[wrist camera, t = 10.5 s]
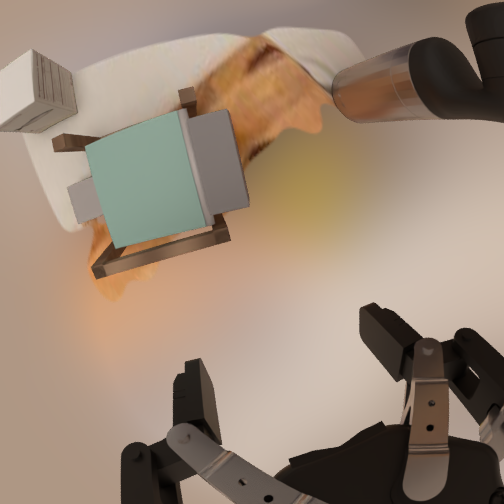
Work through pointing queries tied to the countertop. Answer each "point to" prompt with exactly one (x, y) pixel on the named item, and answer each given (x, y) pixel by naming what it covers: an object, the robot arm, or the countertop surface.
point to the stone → (85, 200)
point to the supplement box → (34, 94)
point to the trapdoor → (167, 175)
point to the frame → (116, 264)
